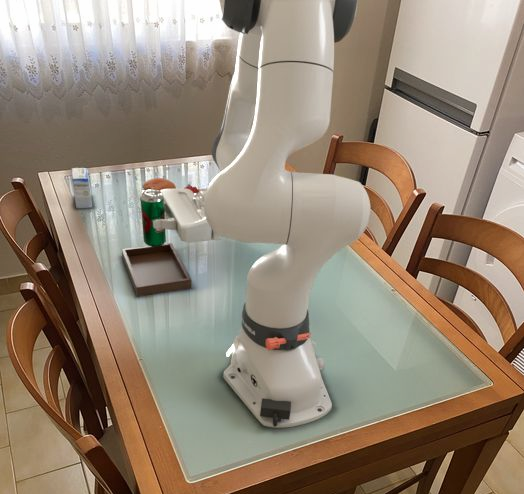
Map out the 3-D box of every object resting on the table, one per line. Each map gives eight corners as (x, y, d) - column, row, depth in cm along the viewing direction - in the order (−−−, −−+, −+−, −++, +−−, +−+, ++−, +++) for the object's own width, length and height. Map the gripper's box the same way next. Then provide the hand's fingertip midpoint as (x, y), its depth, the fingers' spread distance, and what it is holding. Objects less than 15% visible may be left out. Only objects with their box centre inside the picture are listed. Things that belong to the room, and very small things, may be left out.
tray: (191, 288, 123) (191, 279, 122) (137, 296, 119) (136, 287, 118) (172, 251, 135) (171, 242, 134) (122, 257, 131) (121, 249, 130)
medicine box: (75, 197, 155) (70, 167, 149) (91, 196, 156) (87, 167, 151) (76, 208, 149) (71, 179, 144) (92, 207, 151) (88, 178, 145)
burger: (178, 191, 163) (178, 176, 160) (173, 204, 156) (173, 189, 153) (146, 189, 163) (145, 174, 160) (140, 202, 156) (138, 186, 153)
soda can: (161, 249, 120) (158, 199, 112) (140, 245, 121) (136, 196, 113) (169, 239, 124) (166, 190, 116) (148, 235, 125) (144, 186, 117)
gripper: (196, 179, 128) (138, 184, 123) (223, 217, 113) (159, 224, 109) (196, 204, 132) (140, 209, 127) (222, 243, 117) (161, 251, 113)
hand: (149, 217), depth 118 cm, fingers closed on soda can, 5 cm apart
